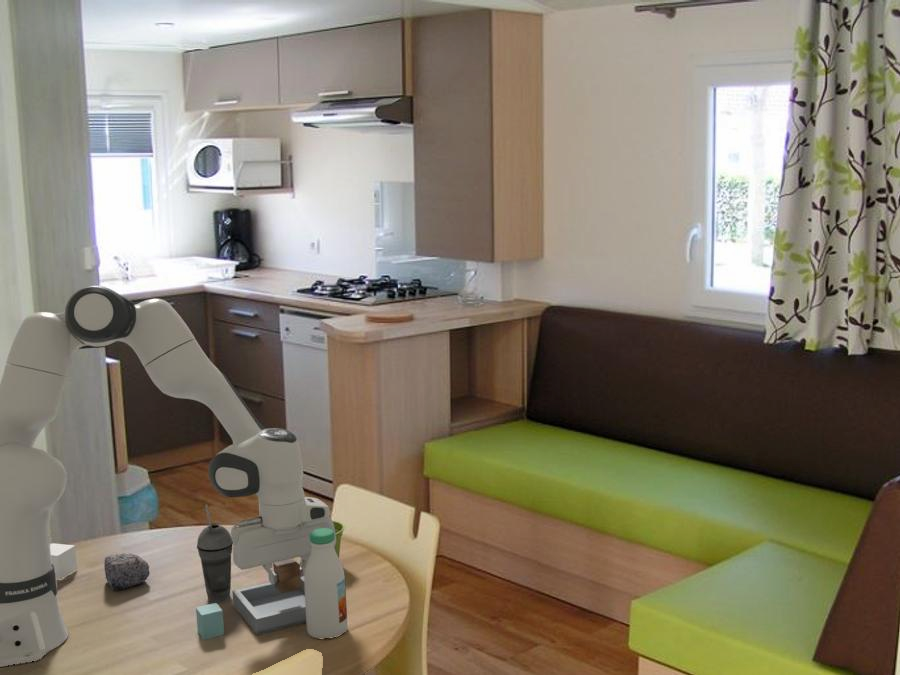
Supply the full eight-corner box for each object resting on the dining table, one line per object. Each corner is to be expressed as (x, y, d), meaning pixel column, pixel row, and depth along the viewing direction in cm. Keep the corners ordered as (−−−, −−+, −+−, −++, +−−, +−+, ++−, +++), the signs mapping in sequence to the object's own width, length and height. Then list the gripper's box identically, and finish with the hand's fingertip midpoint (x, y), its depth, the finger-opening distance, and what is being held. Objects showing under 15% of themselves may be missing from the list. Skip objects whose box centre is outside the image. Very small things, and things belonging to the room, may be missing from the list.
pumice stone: (149, 584, 237) (103, 575, 236) (156, 551, 236) (110, 541, 235) (139, 603, 227) (91, 593, 226) (147, 569, 226) (99, 559, 225)
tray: (257, 634, 207) (256, 619, 206) (233, 605, 220) (232, 590, 219) (331, 616, 214) (331, 600, 213) (304, 588, 227) (303, 574, 226)
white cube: (60, 582, 235) (57, 555, 234) (37, 579, 236) (34, 553, 235) (77, 571, 240) (75, 545, 239) (54, 568, 242) (52, 543, 241)
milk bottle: (330, 644, 202) (325, 542, 198) (298, 635, 206) (292, 535, 202) (355, 627, 208) (350, 528, 205) (324, 619, 213) (318, 521, 209)
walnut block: (281, 593, 210) (280, 569, 209) (274, 586, 213) (273, 562, 212) (301, 588, 212) (299, 564, 211) (293, 581, 215) (292, 557, 214)
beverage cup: (228, 606, 220) (221, 512, 216) (194, 604, 221) (187, 510, 217) (242, 591, 227) (235, 499, 223) (209, 589, 228) (202, 498, 224)
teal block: (203, 640, 205) (201, 615, 204) (197, 631, 209) (195, 607, 208) (224, 634, 207) (222, 610, 206) (218, 626, 211) (216, 602, 210)
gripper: (235, 528, 202) (241, 597, 205) (337, 506, 212) (341, 573, 214) (225, 518, 207) (230, 585, 210) (324, 497, 217) (328, 562, 220)
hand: (287, 579), depth 212 cm, fingers closed on walnut block, 4 cm apart
